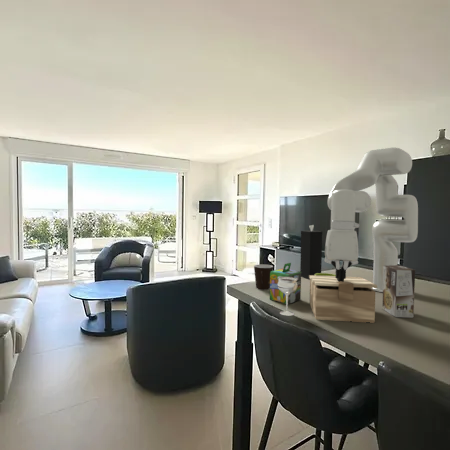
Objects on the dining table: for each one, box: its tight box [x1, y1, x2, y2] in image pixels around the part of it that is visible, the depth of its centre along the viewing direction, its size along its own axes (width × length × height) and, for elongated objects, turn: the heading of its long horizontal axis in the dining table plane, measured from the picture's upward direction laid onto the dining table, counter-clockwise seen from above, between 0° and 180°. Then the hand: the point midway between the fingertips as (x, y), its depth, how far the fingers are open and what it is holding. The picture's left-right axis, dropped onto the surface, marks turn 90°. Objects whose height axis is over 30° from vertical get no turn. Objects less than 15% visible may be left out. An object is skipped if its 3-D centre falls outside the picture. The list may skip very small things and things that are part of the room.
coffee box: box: [382, 264, 416, 319], centre depth 105 cm, size 9×6×16 cm
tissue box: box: [299, 224, 323, 280], centre depth 161 cm, size 8×8×28 cm
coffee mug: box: [253, 263, 274, 291], centre depth 138 cm, size 12×9×10 cm
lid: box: [309, 275, 377, 301], centre depth 105 cm, size 18×19×5 cm
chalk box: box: [269, 262, 302, 305], centre depth 120 cm, size 9×9×15 cm
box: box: [309, 279, 376, 324], centre depth 106 cm, size 17×18×10 cm
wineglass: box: [277, 277, 297, 317], centre depth 104 cm, size 7×7×12 cm
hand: (340, 280), depth 103 cm, fingers closed
